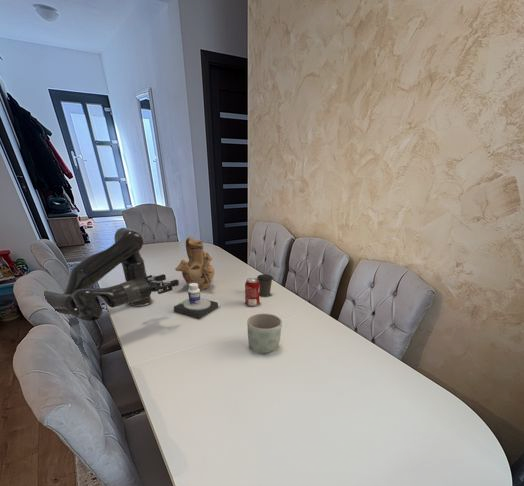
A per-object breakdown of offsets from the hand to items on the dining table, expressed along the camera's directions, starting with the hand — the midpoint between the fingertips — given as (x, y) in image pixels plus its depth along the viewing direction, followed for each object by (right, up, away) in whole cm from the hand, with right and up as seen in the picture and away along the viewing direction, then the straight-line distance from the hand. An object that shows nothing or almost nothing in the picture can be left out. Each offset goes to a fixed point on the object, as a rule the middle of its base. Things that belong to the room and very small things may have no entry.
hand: (171, 279), depth 122 cm
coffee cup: (+37, 0, +36) cm, 52 cm away
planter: (+37, -27, -7) cm, 46 cm away
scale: (+6, -10, +19) cm, 22 cm away
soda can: (+31, -6, +25) cm, 41 cm away
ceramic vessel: (+3, +4, +40) cm, 41 cm away
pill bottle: (+6, -7, +17) cm, 19 cm away
